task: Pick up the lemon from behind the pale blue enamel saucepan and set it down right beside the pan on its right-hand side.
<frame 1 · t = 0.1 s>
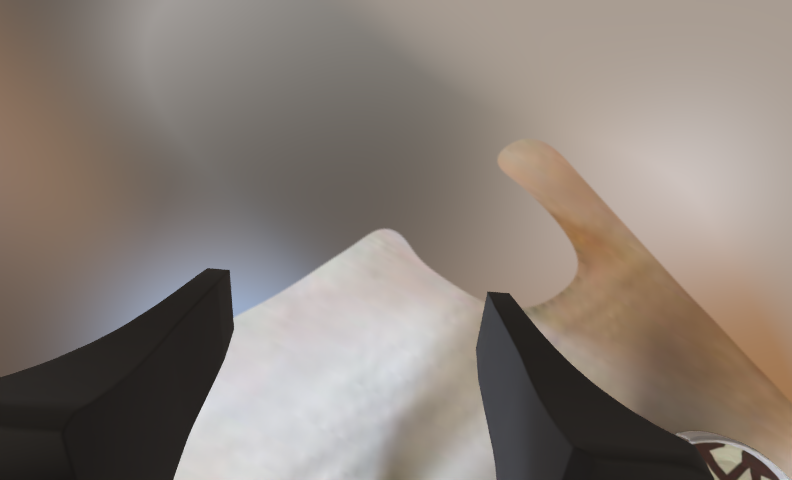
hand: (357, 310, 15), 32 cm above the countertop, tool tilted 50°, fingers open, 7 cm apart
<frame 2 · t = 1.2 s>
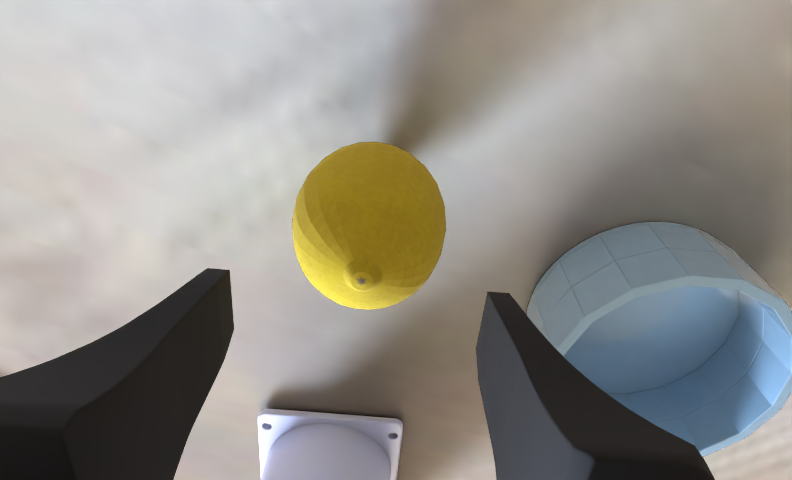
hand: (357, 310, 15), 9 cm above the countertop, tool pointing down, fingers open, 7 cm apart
pan: (632, 315, 27), on the countertop
lemon: (376, 177, 24), on the countertop
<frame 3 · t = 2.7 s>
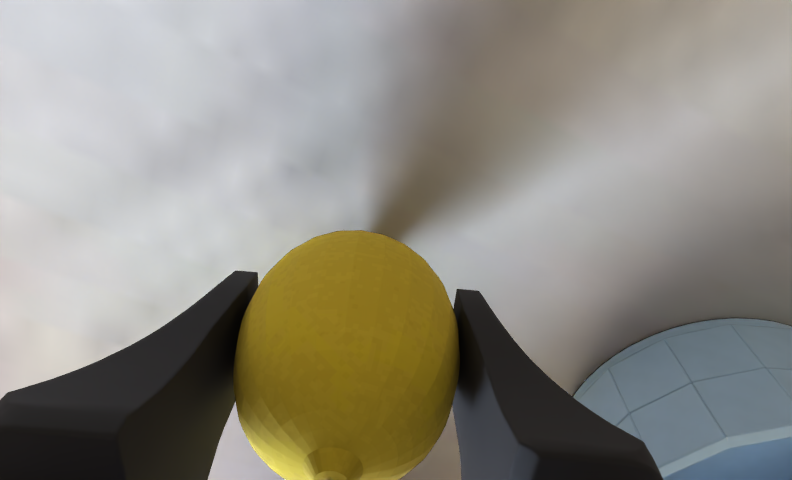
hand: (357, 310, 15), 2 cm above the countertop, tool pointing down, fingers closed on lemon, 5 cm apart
pan: (698, 428, 21), on the countertop
lemon: (362, 261, 18), on the countertop, touching gripper
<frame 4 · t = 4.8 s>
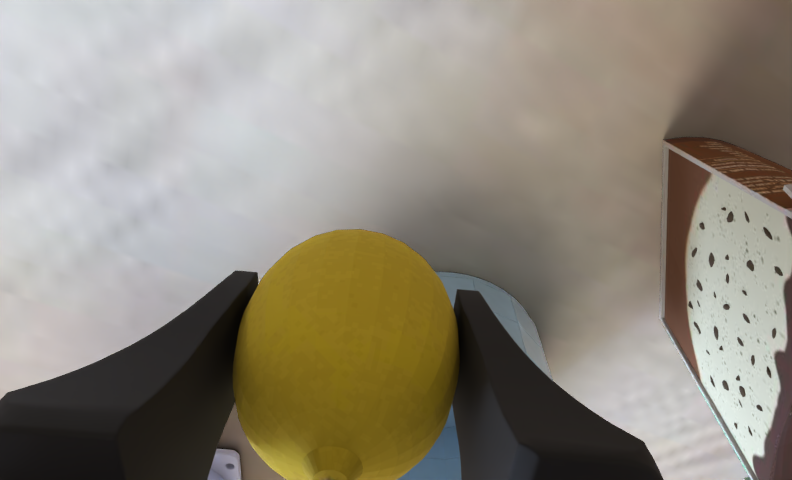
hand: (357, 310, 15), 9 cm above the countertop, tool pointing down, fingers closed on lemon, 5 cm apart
pan: (436, 356, 28), on the countertop
lemon: (362, 260, 18), point 7 cm above the countertop, touching gripper
food container: (730, 223, 24), on the countertop
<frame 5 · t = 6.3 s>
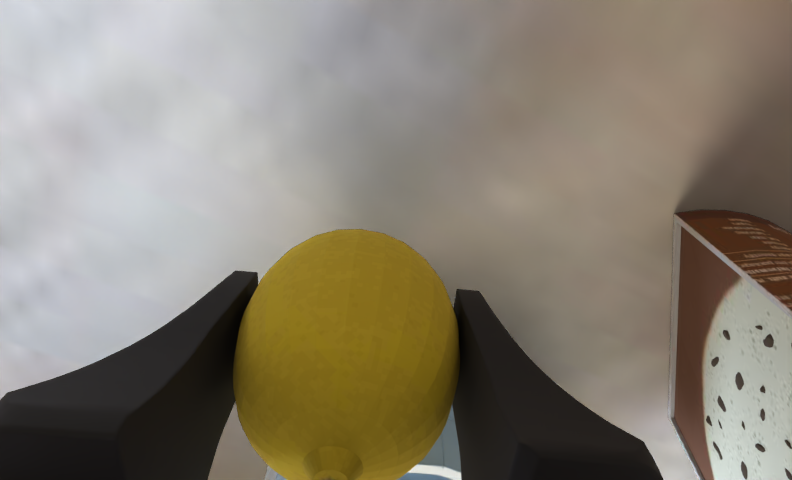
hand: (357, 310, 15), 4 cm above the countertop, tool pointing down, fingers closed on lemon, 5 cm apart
pan: (399, 455, 23), on the countertop
lemon: (362, 260, 18), point 1 cm above the countertop, touching gripper
food container: (757, 309, 20), on the countertop
when the fingers open (2 cm above the countertop, at t = 7.2 s): lemon stays where it is, on the countertop.
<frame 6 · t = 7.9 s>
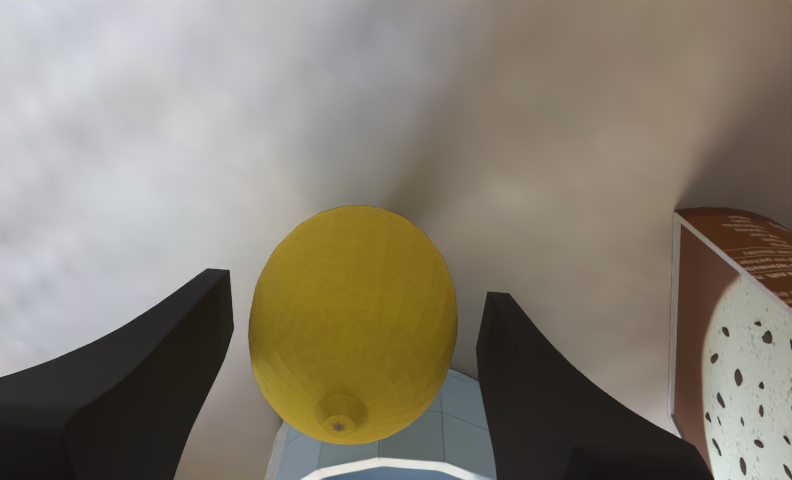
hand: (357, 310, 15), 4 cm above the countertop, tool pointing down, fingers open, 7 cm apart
pan: (399, 452, 24), on the countertop
lemon: (366, 238, 19), on the countertop
food container: (756, 306, 20), on the countertop
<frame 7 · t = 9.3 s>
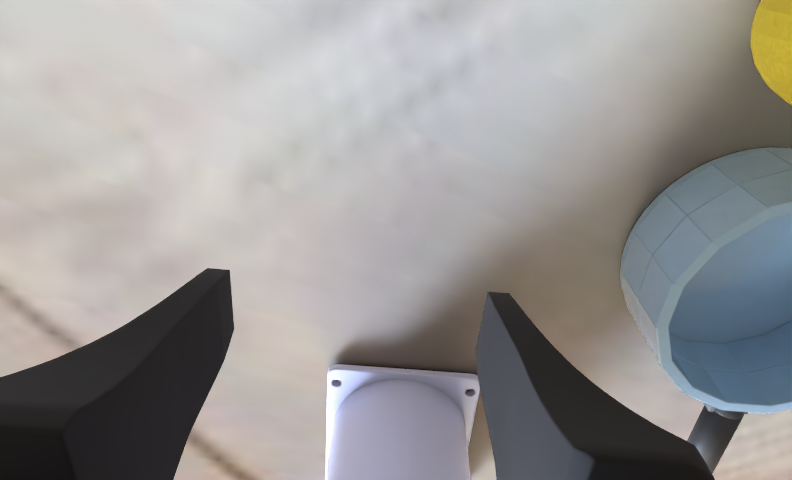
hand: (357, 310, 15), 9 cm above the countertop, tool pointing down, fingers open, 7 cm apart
pan: (736, 255, 25), on the countertop
lemon: (785, 9, 20), on the countertop
pan handle: (705, 440, 26), point 3 cm above the countertop
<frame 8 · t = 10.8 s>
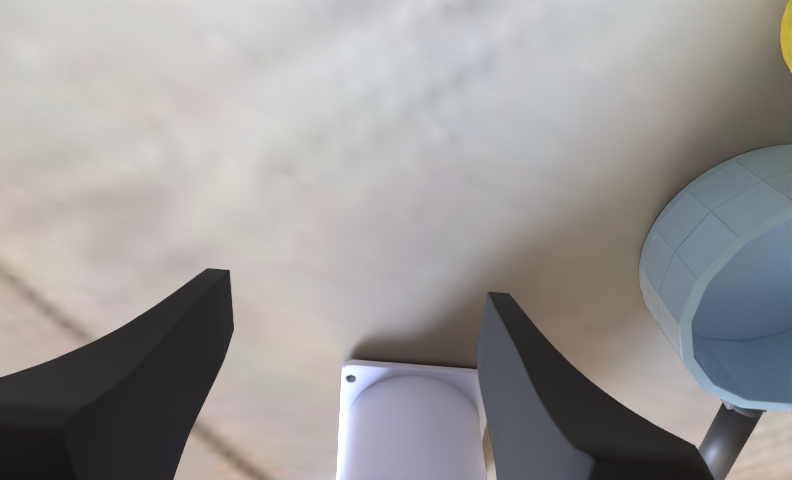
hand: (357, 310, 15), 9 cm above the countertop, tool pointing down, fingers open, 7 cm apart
pan: (756, 253, 25), on the countertop
pan handle: (722, 438, 26), point 3 cm above the countertop
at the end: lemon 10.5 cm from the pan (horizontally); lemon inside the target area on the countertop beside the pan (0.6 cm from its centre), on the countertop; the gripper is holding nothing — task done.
